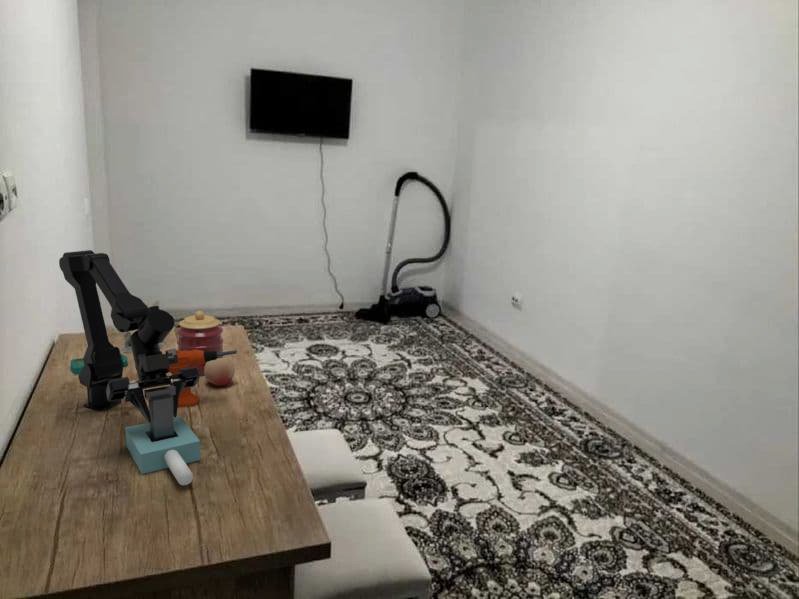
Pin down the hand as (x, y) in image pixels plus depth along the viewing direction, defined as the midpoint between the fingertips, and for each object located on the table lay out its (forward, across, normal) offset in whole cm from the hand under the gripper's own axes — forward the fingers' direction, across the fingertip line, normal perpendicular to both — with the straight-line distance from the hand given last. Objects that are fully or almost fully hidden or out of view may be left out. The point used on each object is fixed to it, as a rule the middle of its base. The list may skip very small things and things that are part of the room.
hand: (162, 419), depth 134 cm
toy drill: (-11, +16, +23) cm, 30 cm away
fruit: (-17, +24, +30) cm, 42 cm away
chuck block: (+9, 0, +3) cm, 9 cm away
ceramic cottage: (-48, +13, +61) cm, 79 cm away
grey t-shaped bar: (+4, 0, +6) cm, 7 cm away
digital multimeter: (-37, -2, +50) cm, 63 cm away
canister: (-28, +23, +40) cm, 54 cm away
